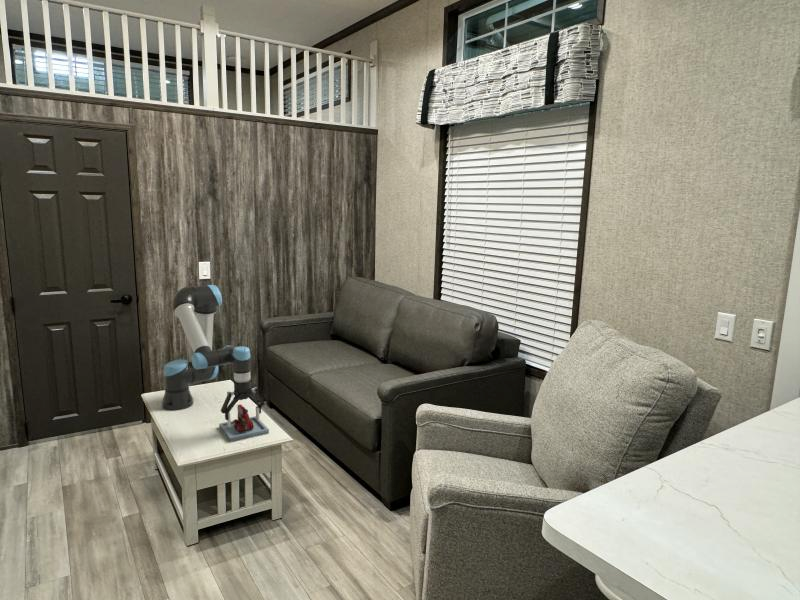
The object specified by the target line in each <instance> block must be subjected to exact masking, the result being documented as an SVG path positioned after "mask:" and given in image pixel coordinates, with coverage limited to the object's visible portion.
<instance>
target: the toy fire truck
mask: <svg viewBox="0 0 800 600" xmlns="http://www.w3.org/2000/svg"><path fill="white" fill-rule="evenodd" d="M236 408H237V419H233V420H232V421H233V425H234V428H237V430H238V432H242V430H244V429H246V430H251V429H253V427H254V425H253V422H252V421H250V420H249V417H250V415H249V410H248V409H246V408H245V407H244V406H243V405H242V404H238V405H237V407H236Z"/></svg>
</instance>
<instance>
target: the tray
mask: <svg viewBox="0 0 800 600" xmlns="http://www.w3.org/2000/svg"><path fill="white" fill-rule="evenodd" d="M249 420H250V421H252V422H253V425H254V427H253V429H251V430H246V429H244V430H242V432H238V430H237V428H234V425H233V421H234V420H231V427H229V426H228V425H227V421H226V422H221V423H218V424H219V425H218V428H219V429H220V431H221V432H222V433H223V434H224V436H225V437H226V439H228V441H229V442H230V443H233V442H237V441H241V440H246V439H250V437H251V438H254V436H255V437H258V436H259V435H260V436H264V435H268V433H269V434H270V429H269V428H268V427H267V426H266V424H264V423H263V421H261V420H260V419H259V421H257V420H256V415H254V416H251V417H250V416H249ZM263 434H264V435H263Z"/></svg>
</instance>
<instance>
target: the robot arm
mask: <svg viewBox="0 0 800 600" xmlns="http://www.w3.org/2000/svg"><path fill="white" fill-rule="evenodd" d="M222 303H223V298H222V294H221V291H220V289H219V287H217V285H215V284H205V285H204V284H203V285H193V286H191V285H190V286H183V287H182V288H180V289H179V290H177V292H175V294H174V296H173V298H172V303H171V308H172V312H173V314H174V316H175V317H177V318H178V320H179V322H180V325H181V326H182V329H183V331H184V333H185V336H186V338H187V340H188V342H189V345H190V347H191V349H192V352H193V354H191V359H190V360H191V361H189V360H187V359H183V358H180V359H175V360H172V361H169V362H167V363H166V364H165V365H164V366H163V378H164V379H163V381H164V382H163V383H164V394H163V398H162V401H161V407H162V408H163V409H164V410H168V411H178V410H179V411H180V410H184V409H188V408H190V407H191V406H193V404H194V398H193V395H192V393H191V391H190V384H196V383H200V382H205V381H210V380H213V379H215V378H217V376H218V374H219V366H225V365H230V364H231V365H232V366H233V380H234V381H233V386H234V387H233V391H230V390H229V391H227V392H226V397H225V400H224V401H223V404H222V407H221V408H220V412H221V414H224V419H225V420H226V422H227V425H228V426H229V427H231V421H232V420H231V411H232V409H233V407H234V406H235V405H236V404H237V403H238V402H239V401H244V400H247V399H250V400H251V401H252V402H253V403H254V404H255V405H256V406H255V416H256V420H257V421H259V420H260V414H262V408H263V406H265V405H266V403H265V402H264V399H263V398H262V396H261V395H260V393H259V389H258V387H257V386H253V388H252V385H251V384H252V382H251V381H252V380H251V379H252V378H251V351H250V348H249V347H247V346H243V345H242V346H241V345H240V346H234V345H231V344H230V345H225V346H223V347H222V348H219V349H213V334H214V332H213V331H214V318H215V317H214V315H215V314H216V313H217V312H218V308H219V307H221V306H222ZM252 393H253V394H255V395H256V396H255V397H256V398H257V399H258V401H259V402H258V401H257V400H256V399H255V398H254V397H253V396H252V395H251V394H252ZM233 396H234V397H233ZM231 399H232V400H231Z"/></svg>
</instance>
